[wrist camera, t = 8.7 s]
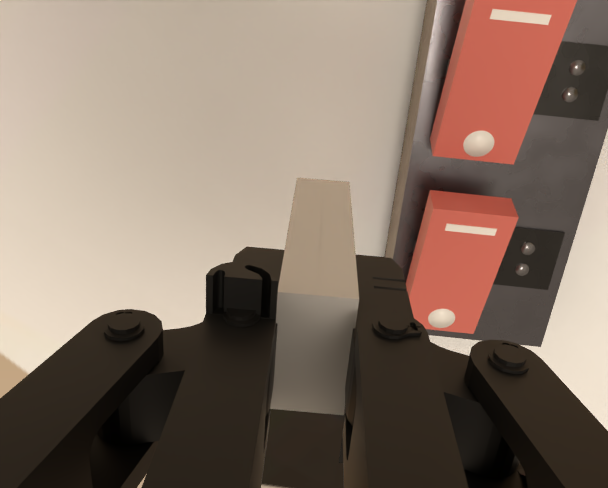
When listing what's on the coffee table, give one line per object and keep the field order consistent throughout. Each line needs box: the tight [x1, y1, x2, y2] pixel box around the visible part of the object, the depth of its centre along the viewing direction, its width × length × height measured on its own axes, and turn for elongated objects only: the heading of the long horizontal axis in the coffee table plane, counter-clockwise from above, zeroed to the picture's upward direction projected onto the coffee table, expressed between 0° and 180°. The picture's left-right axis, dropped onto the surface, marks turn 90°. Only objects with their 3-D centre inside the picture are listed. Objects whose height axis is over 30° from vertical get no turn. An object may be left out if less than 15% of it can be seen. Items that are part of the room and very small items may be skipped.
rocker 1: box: [430, 0, 577, 165], centre depth 32 cm, size 10×5×2 cm, turn 174°
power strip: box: [385, 0, 608, 347], centre depth 39 cm, size 26×12×6 cm, turn 174°
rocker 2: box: [406, 190, 519, 334], centre depth 37 cm, size 10×5×2 cm, turn 174°
